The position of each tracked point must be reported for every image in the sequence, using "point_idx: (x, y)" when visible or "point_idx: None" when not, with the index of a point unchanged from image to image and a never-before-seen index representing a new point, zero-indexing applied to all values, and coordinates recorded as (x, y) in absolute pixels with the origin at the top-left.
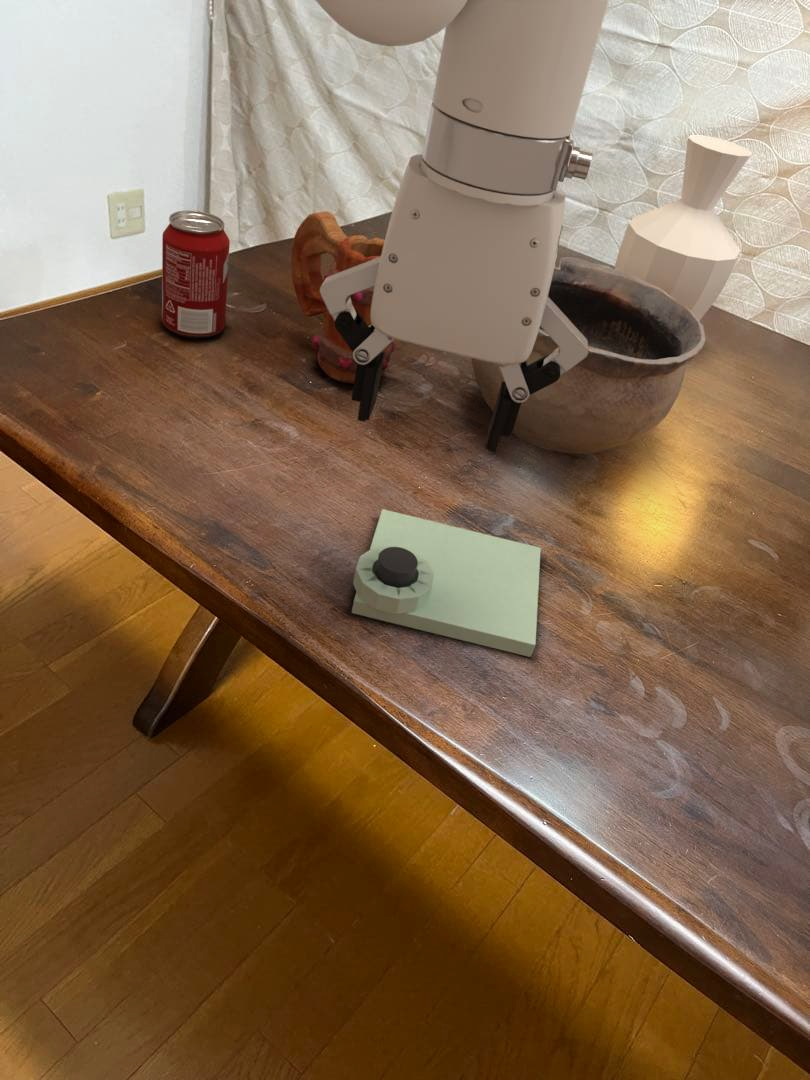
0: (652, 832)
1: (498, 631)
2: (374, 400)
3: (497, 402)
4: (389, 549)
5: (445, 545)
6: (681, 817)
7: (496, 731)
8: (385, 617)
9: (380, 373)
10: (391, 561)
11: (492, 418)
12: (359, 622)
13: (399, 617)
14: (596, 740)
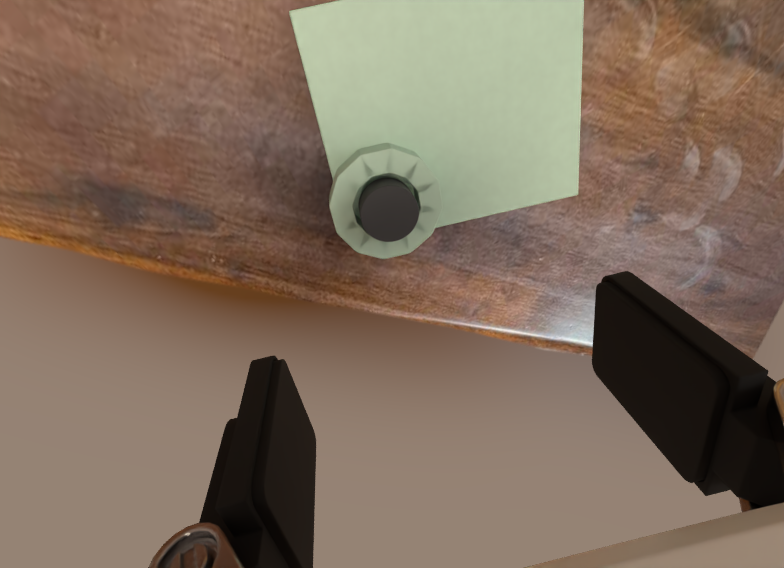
0: None
1: (531, 198)
2: (296, 412)
3: (669, 401)
4: (369, 200)
5: (425, 54)
6: (698, 297)
7: (537, 299)
8: None
9: (279, 445)
10: (383, 224)
11: (627, 344)
12: None
13: None
14: (633, 260)
